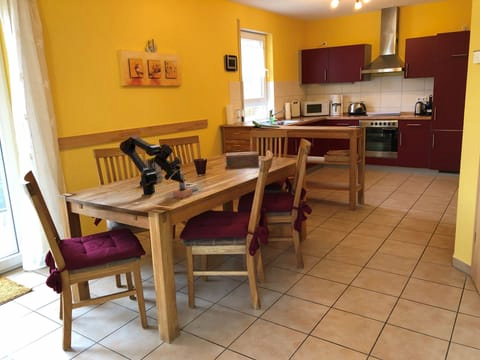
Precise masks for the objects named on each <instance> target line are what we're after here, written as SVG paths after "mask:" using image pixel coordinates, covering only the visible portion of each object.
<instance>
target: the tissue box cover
mask: <svg viewBox="0 0 480 360" xmlns="http://www.w3.org/2000/svg"><path fill="white" fill-rule="evenodd" d="M259 155H260V154H259V152H258V151H243V152H226V153H225V164H226V166H225V167H226V169H233V168H232V167H236V168H251V167H256V168H257V167H259V166H260V160H259V159H260V157H259Z"/></svg>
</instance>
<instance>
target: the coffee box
mask: <svg viewBox="0 0 480 360" xmlns="http://www.w3.org/2000/svg"><path fill="white" fill-rule="evenodd" d="M152 158H153V157H150V158H148V159H145V160H144V163H145V165H146V166H147V168H148V169H151V168H152V169H153V170H154V172H155V173H156V175H157V183H156V184H159V183H163V182H164V177H163V170H161V168H160V167H159V166H158V165H157V164H156V163H155V162H154V163H153V164H152V163H151V159H152Z"/></svg>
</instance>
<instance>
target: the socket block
mask: <svg viewBox="0 0 480 360" xmlns="http://www.w3.org/2000/svg"><path fill="white" fill-rule="evenodd" d="M178 188H180V187H179V186H178ZM185 188H192V192H193V191H195V190H198V189H199V185H198V183H191V182H186V183H185Z"/></svg>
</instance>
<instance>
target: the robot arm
mask: <svg viewBox="0 0 480 360" xmlns="http://www.w3.org/2000/svg"><path fill="white" fill-rule="evenodd" d="M136 148H139V149H141V150H143V151H145V154H146V155H147V156H149V157H151V158H152V159H151V163H152V164H153V163H154V162H155V163H156V164H157V165H158V166H159V167H160V168H161V170H162V171H164V172H165V173H166V174H164V175H163V176H164V177H163V179H165V180H166V181H168V180H170V181H175V182H178V183H179V182H181V183H185V182H186V179H185V178H184V181H183V180H182V179H181V177H180V176H179V174H178V173H181V168H182V165H181V164H182V163H183V162H182V158H180V157H178V156H175V158H174V160H172V161H171V160H168V158H169V157H170V156H171V155H172V154H173V152H174V151H173V149H172V147H170V146H169V145H167V144H166V143H164V144H162V145H161V146H160V145H158V144H155V143H150V142H147V141H145V140H143V139H141V138H139V136H130V137H129V138H127V139H125V140H124V141H121V142H120V144H119V149H120V151H121V152H122V153H123V154H124V155H127V156H128V157H129V158H130V160H131V161H132V163H133V164H134V166H135V167H136V168H137V170H138V171H139V172H140V181H139V186H140V187H142V190H143V194H142V196H151V195H154V194H155V193H156V191H155V190H156V188H155V185H157V184H158V183H157V175H156V173H155V172H154V170H153V169H152V168H151V169H148V168H147V166H146V163H145V161H143V160H142V157H140V155H139V153H137V149H136Z"/></svg>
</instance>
